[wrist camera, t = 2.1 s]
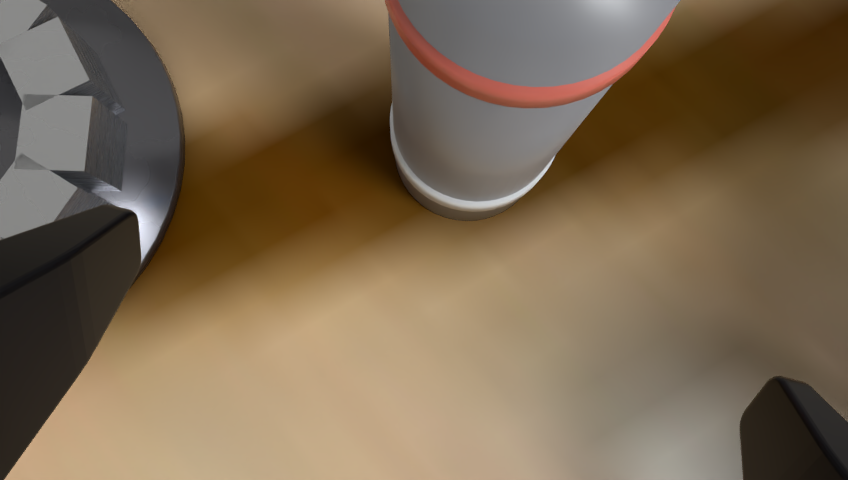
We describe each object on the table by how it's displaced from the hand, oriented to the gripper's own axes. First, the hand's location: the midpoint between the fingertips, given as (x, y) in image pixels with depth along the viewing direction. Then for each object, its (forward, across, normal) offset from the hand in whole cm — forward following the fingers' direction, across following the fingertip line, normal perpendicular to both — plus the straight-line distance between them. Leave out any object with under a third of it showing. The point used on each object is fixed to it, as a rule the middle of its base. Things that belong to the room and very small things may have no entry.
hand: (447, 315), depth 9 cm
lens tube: (+13, 0, +4) cm, 14 cm away
